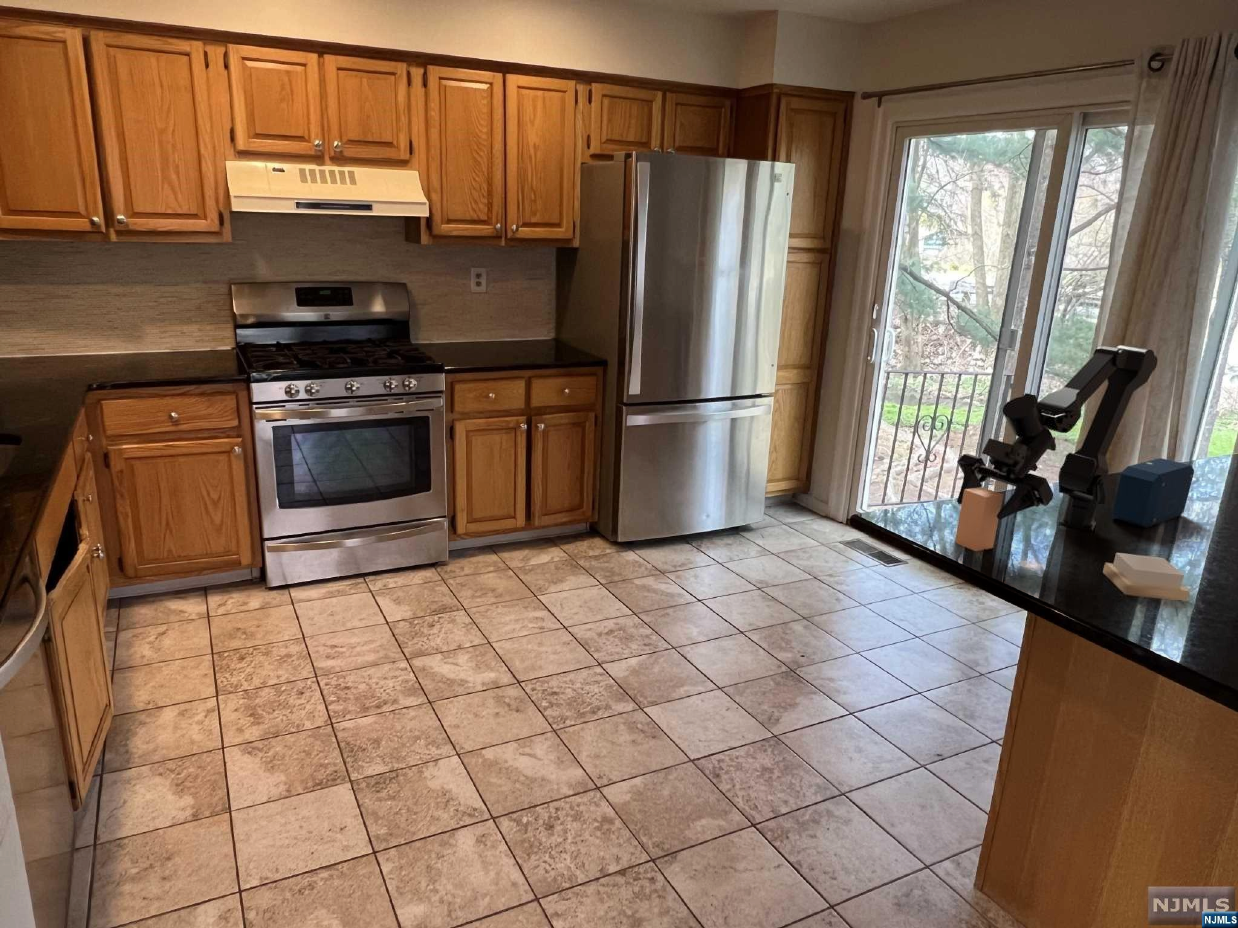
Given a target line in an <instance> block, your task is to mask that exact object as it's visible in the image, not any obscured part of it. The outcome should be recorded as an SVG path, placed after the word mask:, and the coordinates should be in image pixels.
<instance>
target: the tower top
mask: <svg viewBox="0 0 1238 928" xmlns="http://www.w3.org/2000/svg"><path fill="white" fill-rule="evenodd" d="M1113 566H1114V567H1115V568H1116V569H1117V570H1118V571H1120V572H1121V573H1122V574H1123V575H1124V576H1125V577H1126V578H1127V579H1128V580H1129V581H1130V582H1131V583H1138V584H1147V585H1155V586H1163V587H1172V588H1181V585H1183V580H1184V578H1185V577H1184V576H1185V574H1184V573H1182V572H1181V571H1180V570H1178V569H1177V568H1176V567H1175V566H1174V565H1173V564H1172V563H1170V562H1169V561H1168V560H1167V559H1165V558H1164V557H1156V556H1147V555H1139V554H1130V553H1124V552H1116V553H1115V557H1114V560H1113Z"/></svg>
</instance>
